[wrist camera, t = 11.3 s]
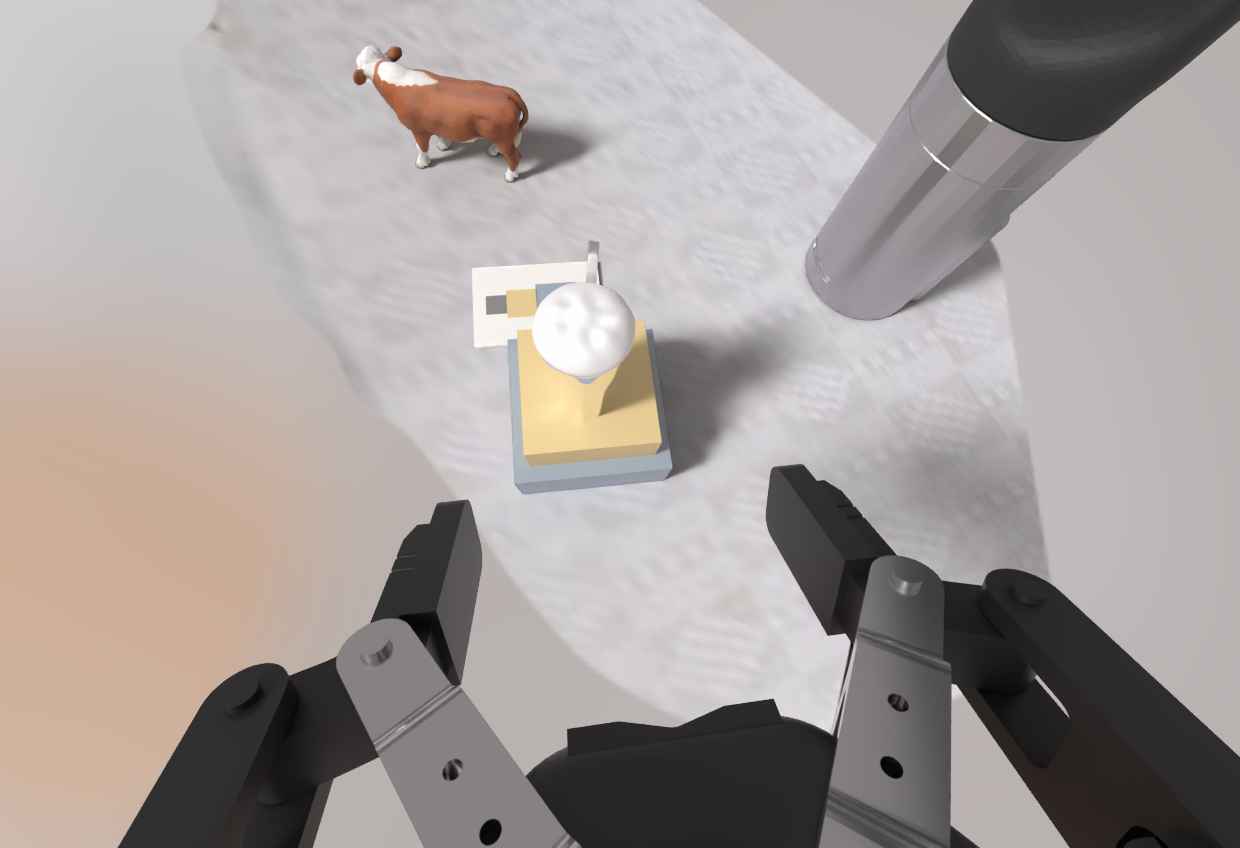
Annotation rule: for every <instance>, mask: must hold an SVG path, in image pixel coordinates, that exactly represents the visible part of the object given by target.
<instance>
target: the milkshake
mask: <svg viewBox="0 0 1240 848" xmlns="http://www.w3.org/2000/svg"><path fill="white" fill-rule="evenodd" d="M598 254H599V242H596V241H589V242H588V255H587V272H586V282H579V283H570V284H566V285H563V286H561V287H559V288H557V289H556V290H554V291H553V292H551V293H550V294H549V295H548V296H547V297H546V298H545V299H544V300H543V301H542V302H541V303H540V305H539V306H538V308H537V310H536V313H535V316H534V319H533V324H532V336H533V341H534V344H535V346H536V349H537V350H538V352H539V354H540V356H541V358H542V360H543V363H544V365H545V367H546V369H547V371H548V373H549V375H550V378H551V381H552V383H553V386H554V388H555V391H556V394H557V396H558V398H559V400H560V402H561V404H562V405H563V407H564V409H565V411H566V412H568V413H570V414H572V415H574V416H576V417H579V418H581V419H583V418H589V417H596V416H599V415H600V414H601V413H602V412H603V411H604V410H605V409H606V408H607V407H608V406H609V405H610V404H611V401H612V398H613V395H614V392H615V389H616V386H617V383H618V380H619V377H620V374H621V372H622V369H623V367H624V364H625V362H626V359H627V357H628V355H629V352H630V350H631V348H632V346H633V342H634V338H635V327H636V326H635V318H634V316H633V313H632V311H631V310H630V308H629V307H628V305H627V304H626V302H625V301H624V299H623V298H622V297H621V296H620V295H619V294H618V293H617V292H615V291H614V290H612V289H610V288H608V287H605V286H602V285H599V284H596V280H597V267H598Z"/></svg>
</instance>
